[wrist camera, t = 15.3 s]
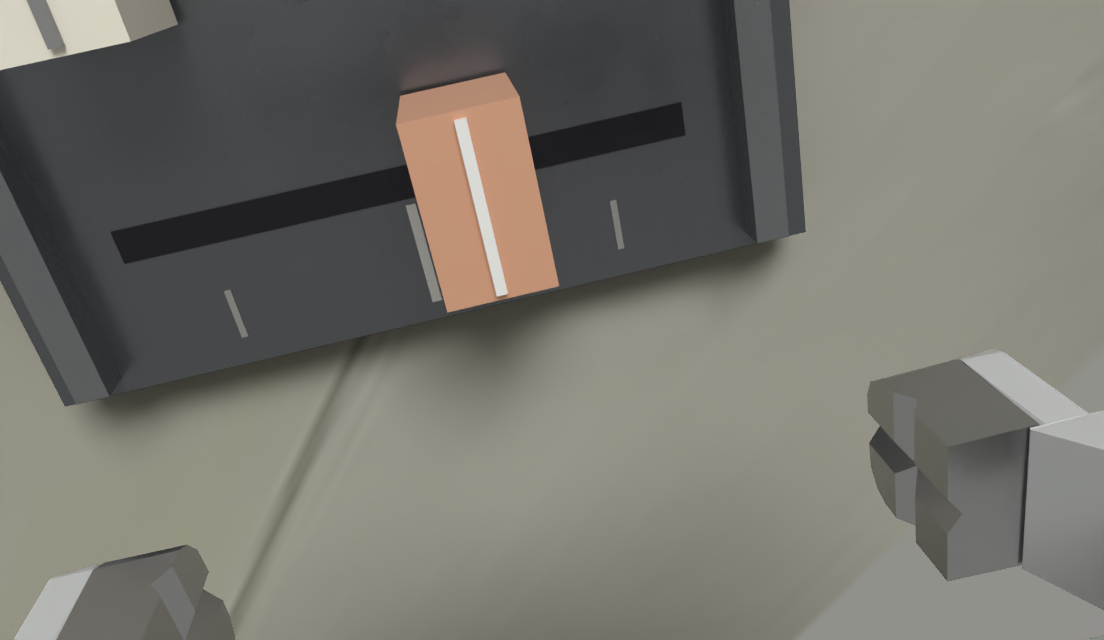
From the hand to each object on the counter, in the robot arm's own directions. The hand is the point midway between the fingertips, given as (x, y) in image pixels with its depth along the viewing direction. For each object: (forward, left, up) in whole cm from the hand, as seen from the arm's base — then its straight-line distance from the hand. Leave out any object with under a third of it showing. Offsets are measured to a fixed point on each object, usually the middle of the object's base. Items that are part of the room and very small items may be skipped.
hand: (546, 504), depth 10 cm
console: (+2, -4, -19) cm, 19 cm away
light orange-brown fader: (0, 0, -16) cm, 16 cm away
